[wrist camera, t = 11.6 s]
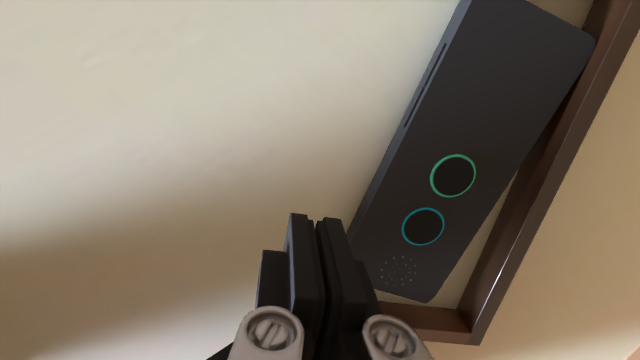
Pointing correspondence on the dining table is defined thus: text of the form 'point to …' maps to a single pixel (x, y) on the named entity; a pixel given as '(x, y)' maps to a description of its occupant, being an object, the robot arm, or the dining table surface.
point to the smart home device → (463, 140)
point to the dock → (532, 185)
